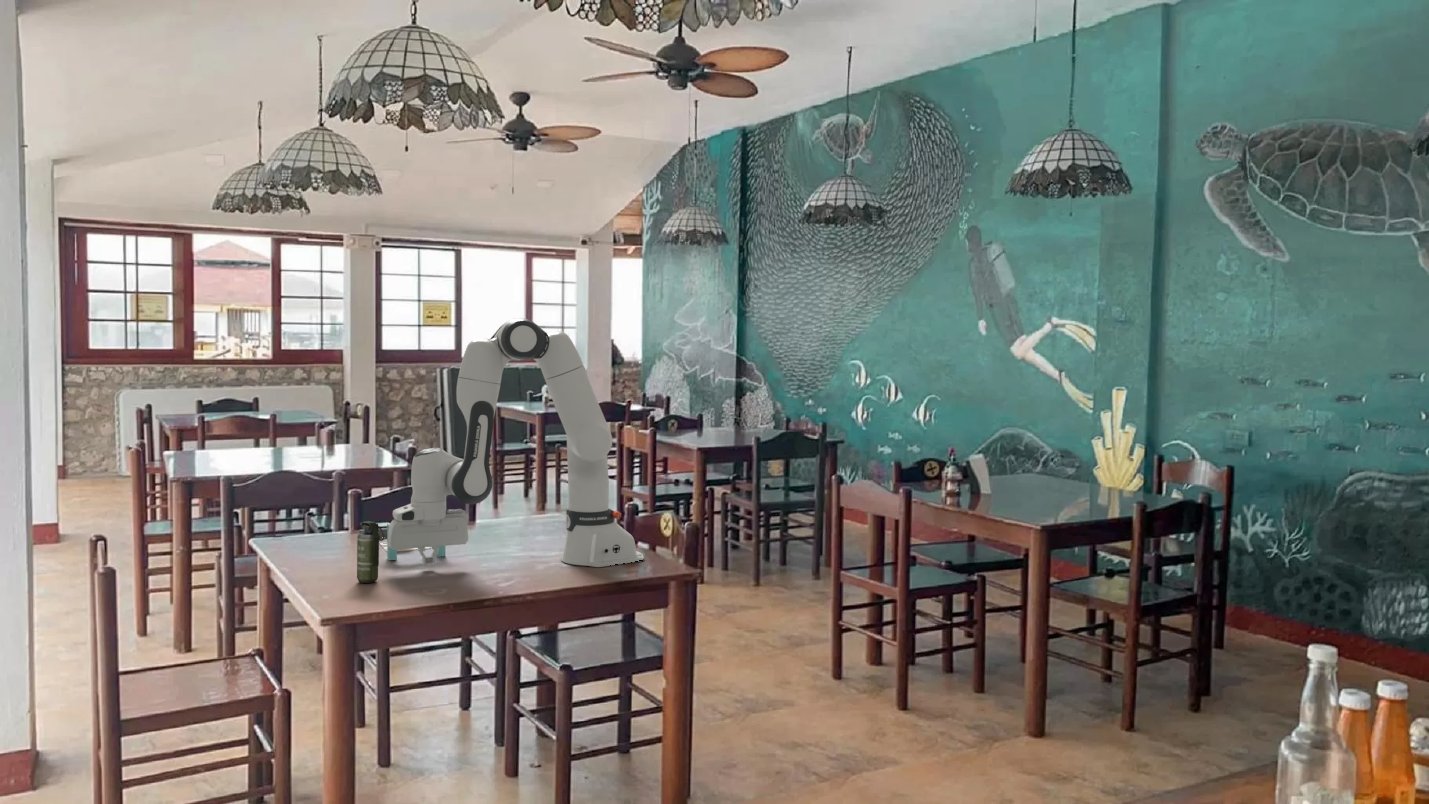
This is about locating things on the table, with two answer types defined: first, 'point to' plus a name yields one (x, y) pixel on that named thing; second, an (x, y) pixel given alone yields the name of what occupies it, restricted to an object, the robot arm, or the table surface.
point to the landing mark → (403, 549)
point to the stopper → (379, 532)
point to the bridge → (393, 552)
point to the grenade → (368, 552)
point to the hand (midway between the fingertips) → (428, 563)
